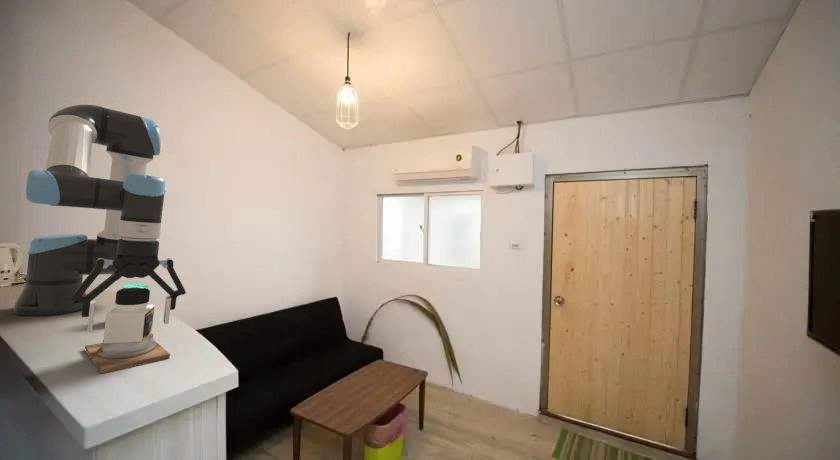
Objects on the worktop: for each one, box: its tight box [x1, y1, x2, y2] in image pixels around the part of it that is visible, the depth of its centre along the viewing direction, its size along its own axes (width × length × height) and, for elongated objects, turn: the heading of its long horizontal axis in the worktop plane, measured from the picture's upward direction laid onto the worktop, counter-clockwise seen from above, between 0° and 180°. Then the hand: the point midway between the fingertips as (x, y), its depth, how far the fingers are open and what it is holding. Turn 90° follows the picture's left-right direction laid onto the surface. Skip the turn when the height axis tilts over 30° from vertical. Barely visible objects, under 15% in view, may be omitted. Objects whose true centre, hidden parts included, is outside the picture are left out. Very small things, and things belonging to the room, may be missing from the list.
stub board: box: [84, 332, 171, 374], centre depth 77 cm, size 16×12×4 cm
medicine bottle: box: [102, 287, 155, 344], centre depth 76 cm, size 7×7×12 cm
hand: (130, 326), depth 77 cm, fingers open, 13 cm apart
